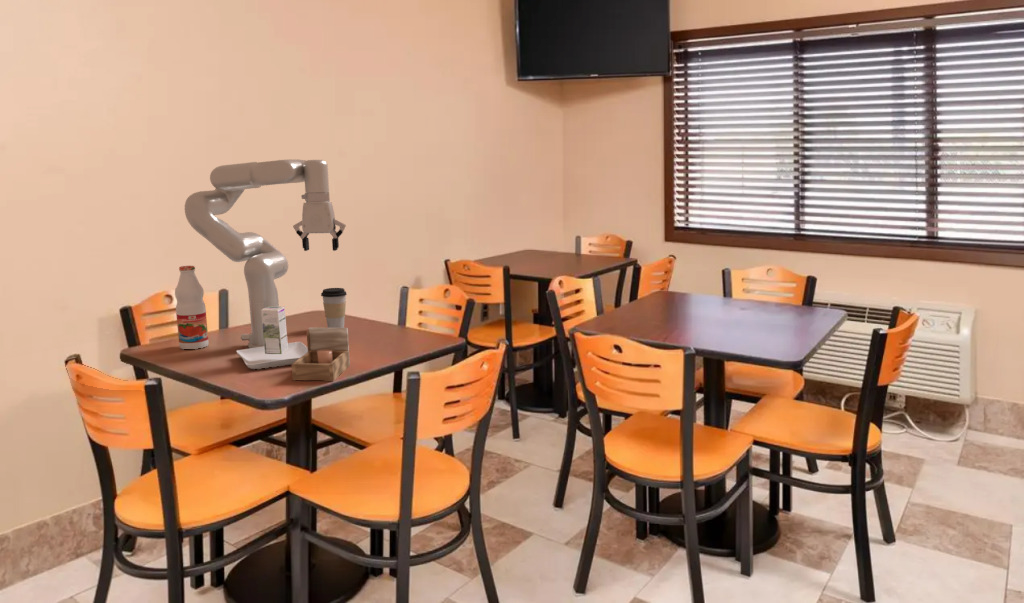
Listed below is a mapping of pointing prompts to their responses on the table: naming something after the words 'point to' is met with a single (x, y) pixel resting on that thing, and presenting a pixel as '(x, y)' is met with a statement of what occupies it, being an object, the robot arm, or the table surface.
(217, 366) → the table surface
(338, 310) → the coffee cup
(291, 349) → the salad plate
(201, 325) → the fruit juice
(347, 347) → the wooden box
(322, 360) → the tan rounded lump
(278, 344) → the syrup box
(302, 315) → the table surface
